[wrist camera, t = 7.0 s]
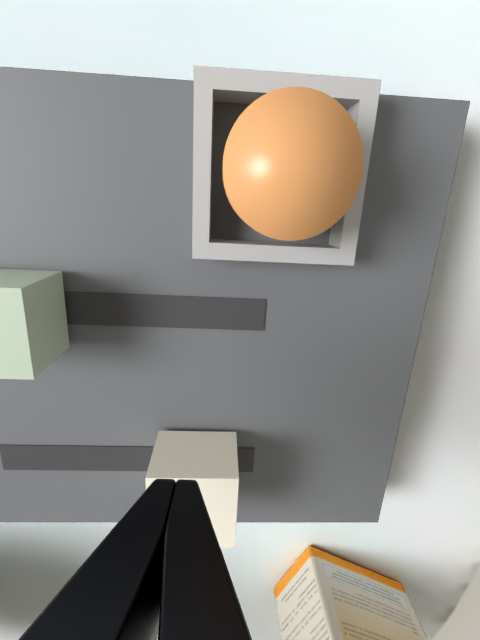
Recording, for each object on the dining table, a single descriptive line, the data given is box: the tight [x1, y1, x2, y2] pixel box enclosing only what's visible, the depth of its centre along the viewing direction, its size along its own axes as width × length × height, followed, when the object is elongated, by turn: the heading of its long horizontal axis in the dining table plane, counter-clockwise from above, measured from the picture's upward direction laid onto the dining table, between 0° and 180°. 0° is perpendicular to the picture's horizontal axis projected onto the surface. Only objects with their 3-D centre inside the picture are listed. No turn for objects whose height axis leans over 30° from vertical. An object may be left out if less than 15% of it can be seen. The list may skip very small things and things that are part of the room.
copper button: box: [223, 87, 364, 241], centre depth 11 cm, size 4×4×2 cm
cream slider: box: [145, 431, 239, 548], centre depth 16 cm, size 4×4×3 cm
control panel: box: [0, 65, 470, 522], centre depth 16 cm, size 20×20×4 cm
